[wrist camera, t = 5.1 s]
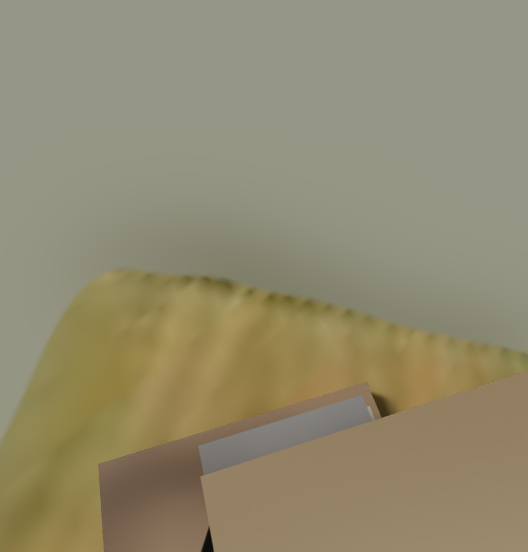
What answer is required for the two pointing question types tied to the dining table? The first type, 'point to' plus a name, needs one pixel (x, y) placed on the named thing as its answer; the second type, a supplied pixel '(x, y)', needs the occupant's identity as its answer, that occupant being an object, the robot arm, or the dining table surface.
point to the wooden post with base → (377, 478)
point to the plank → (179, 484)
